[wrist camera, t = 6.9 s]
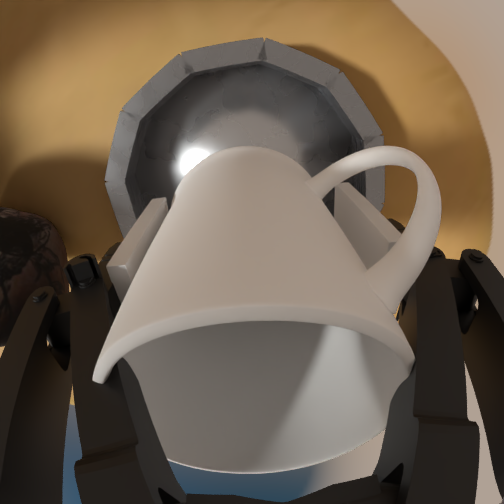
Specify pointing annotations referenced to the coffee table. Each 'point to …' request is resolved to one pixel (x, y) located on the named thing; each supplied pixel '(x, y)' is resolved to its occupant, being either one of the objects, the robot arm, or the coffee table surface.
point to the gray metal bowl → (237, 121)
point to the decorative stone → (27, 263)
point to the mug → (269, 314)
